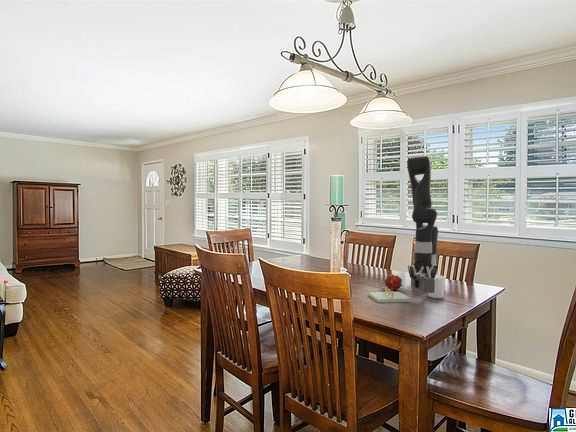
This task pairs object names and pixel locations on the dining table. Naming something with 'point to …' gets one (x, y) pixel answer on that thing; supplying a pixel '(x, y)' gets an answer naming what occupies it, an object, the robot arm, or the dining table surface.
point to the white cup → (438, 287)
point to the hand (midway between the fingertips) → (422, 287)
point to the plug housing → (424, 284)
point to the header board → (389, 296)
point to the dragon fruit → (393, 282)
